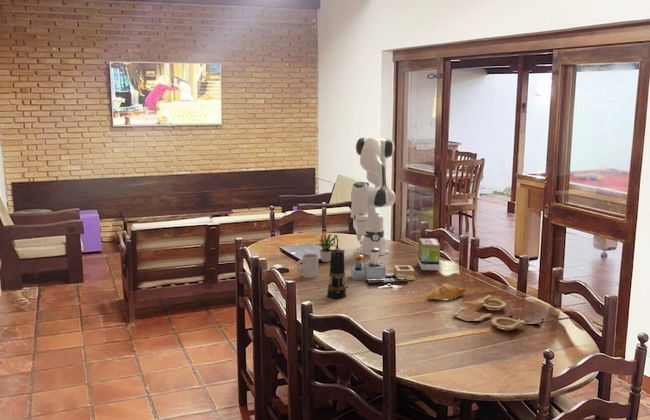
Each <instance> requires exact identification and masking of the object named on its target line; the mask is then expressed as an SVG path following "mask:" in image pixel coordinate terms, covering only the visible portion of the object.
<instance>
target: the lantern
mask: <svg viewBox="0 0 650 420" xmlns="http://www.w3.org/2000/svg"><path fill="white" fill-rule="evenodd" d="M333 238H334V240H333V244H334V245H335V246H336V247H335V249H331V251H330V252H331V260H330V267H329V274H328V276H329V284H328V287H327V294H326V297H327V298H328V299H332V300H341V299H345V298H346V297H347V294H346V291H347V290H346V289H348V288H349V286H346V285H345V283H346V282H345V281H346V280H345V276H346V272H345V252H346V251H345V250H343V249H340V248H339V238H338V235H337V234H335V235H334V236H333ZM335 240H336V241H335ZM335 243H336V244H335Z"/></svg>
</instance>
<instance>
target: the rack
mask: <svg viewBox="0 0 650 420" xmlns="http://www.w3.org/2000/svg"><path fill="white" fill-rule="evenodd" d="M394 274H395V276H396V277H397V278H403V279H407V280H406V281H412V280H413V279H414V280H416V279H415V276H416V270H415V269H414V267H413V266H412V265H411V264H405V265H404V264H402V265H398V264H396V265H393V275H394ZM395 276H394V277H395ZM396 277H395V278H396ZM414 280H413V281H414Z"/></svg>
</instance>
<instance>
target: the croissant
mask: <svg viewBox="0 0 650 420" xmlns="http://www.w3.org/2000/svg"><path fill="white" fill-rule="evenodd" d="M465 292H466V289H465V288H463V287H459V286H458V287H457V286H454V285H453V284H451V283H443V284H441V285H440V286H439V287H436V288H435V289H434V290H432V291H430V292H429V293H427V294H426V299H428V300H432V299H439V300H438V301H444V300H443V299H451V298H455V297H457V298H459V297H460V295H461V296H463V295H464V293H465ZM458 296H459V297H458ZM455 299H456V298H455Z"/></svg>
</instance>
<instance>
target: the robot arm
mask: <svg viewBox="0 0 650 420" xmlns="http://www.w3.org/2000/svg"><path fill="white" fill-rule="evenodd" d="M395 149H396V148H395V143H394V141H393V140H392V139H389V138H383V137H360V138H359V139H358V140H357V141H356V144H355V151H356V153H357V154H358V156H360V158H359V164H360V166H361V168H362V169H363V170H364V171H366V180H367V182H369V183H371V184H372V185H373V186H368V184H367V183H366V182H363V181H358V182H355V183H353V184H352V188H351V193H350V201H351V205H350V206H351V207H350V218H352V219H353V221H352V223H353V224H352V227H353V229H354V230H355V232H356V240H357V241H358V242H359V246H358V249H357V254H363V255H366V256H371V248H373V247H376V248H379V256H384V255H386V254H389V252H390V251H389V249H387V238H385V237H384V236H385V230H384V224H385V223H384V219H385V218H384V217H383V216H382V215H381V214H379V213H378V212H376V208H378V209H379V208H386V207H391V206H393V205H394V204H395V202H396V194H395V192H394V191H393V190H392V189H391V188H390V186H389V185H388V182H387V172H386V171H387V165H386V164H387V159H388V158H390V157H392V156H393V155H394V153H395Z"/></svg>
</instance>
